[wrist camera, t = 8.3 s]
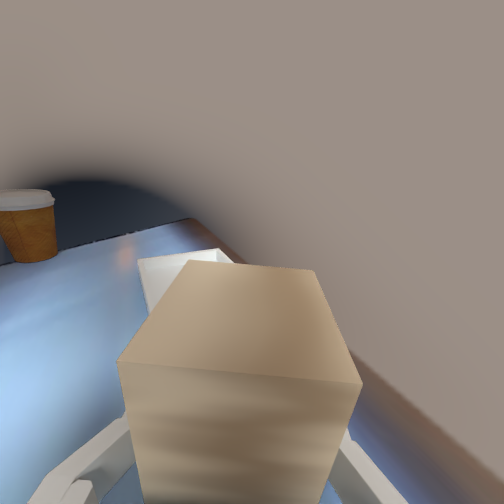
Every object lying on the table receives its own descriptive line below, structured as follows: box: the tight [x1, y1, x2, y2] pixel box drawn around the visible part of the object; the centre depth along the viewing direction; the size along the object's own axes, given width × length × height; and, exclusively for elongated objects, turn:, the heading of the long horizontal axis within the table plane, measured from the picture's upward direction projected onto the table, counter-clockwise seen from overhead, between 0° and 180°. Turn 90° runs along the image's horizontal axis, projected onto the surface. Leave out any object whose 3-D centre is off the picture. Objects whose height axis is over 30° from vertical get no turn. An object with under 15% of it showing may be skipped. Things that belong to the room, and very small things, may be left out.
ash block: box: [116, 259, 363, 504], centre depth 9 cm, size 5×5×12 cm
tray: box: [137, 248, 233, 316], centre depth 34 cm, size 26×15×3 cm, turn 29°
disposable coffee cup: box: [0, 189, 58, 263], centre depth 43 cm, size 10×10×12 cm
